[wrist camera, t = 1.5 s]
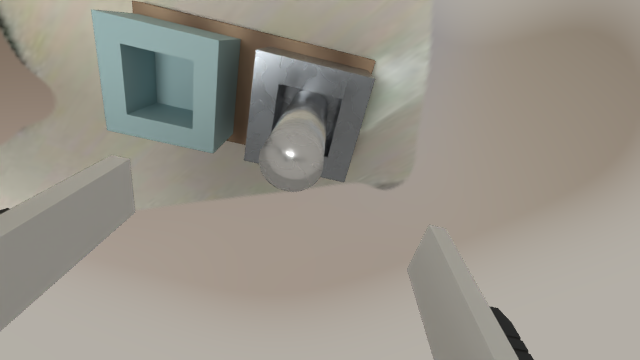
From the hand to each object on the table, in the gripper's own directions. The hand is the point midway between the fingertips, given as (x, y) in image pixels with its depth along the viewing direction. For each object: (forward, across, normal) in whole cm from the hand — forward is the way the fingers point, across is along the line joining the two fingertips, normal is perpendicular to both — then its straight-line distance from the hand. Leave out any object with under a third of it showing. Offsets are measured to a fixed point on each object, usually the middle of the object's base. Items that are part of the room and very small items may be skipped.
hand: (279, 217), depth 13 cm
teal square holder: (+20, -13, 0) cm, 24 cm away
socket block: (+21, 0, 0) cm, 21 cm away
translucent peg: (+20, 0, 0) cm, 20 cm away
